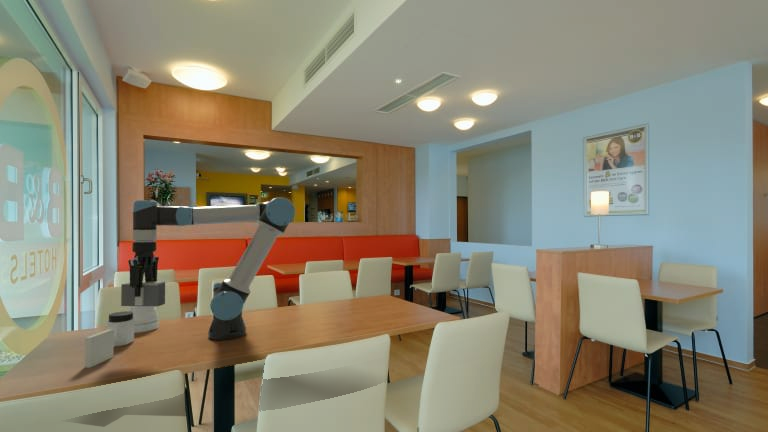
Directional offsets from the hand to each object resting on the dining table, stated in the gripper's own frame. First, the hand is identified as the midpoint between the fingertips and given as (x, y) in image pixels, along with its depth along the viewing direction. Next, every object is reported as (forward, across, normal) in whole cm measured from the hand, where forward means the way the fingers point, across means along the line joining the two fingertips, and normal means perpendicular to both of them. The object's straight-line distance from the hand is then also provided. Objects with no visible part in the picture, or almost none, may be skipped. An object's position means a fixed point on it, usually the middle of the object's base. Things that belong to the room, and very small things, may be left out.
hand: (143, 303), depth 138 cm
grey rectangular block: (+1, 0, 0) cm, 1 cm away
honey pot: (+19, -32, -23) cm, 44 cm away
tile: (+18, +9, -9) cm, 22 cm away
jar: (+19, -11, -17) cm, 28 cm away
